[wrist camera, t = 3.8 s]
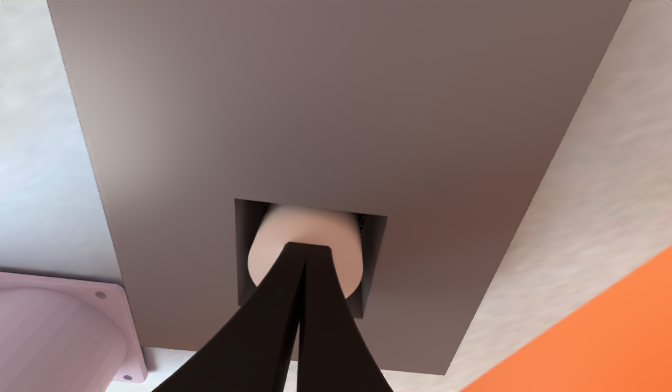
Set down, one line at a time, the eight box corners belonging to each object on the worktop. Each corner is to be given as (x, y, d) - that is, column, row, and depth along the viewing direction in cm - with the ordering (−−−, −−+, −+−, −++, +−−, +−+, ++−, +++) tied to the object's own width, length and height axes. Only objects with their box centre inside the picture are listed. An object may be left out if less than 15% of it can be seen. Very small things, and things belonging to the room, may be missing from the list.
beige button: (266, 246, 14) (248, 303, 11) (268, 169, 12) (247, 215, 9) (351, 256, 14) (353, 314, 11) (366, 181, 12) (372, 229, 9)
